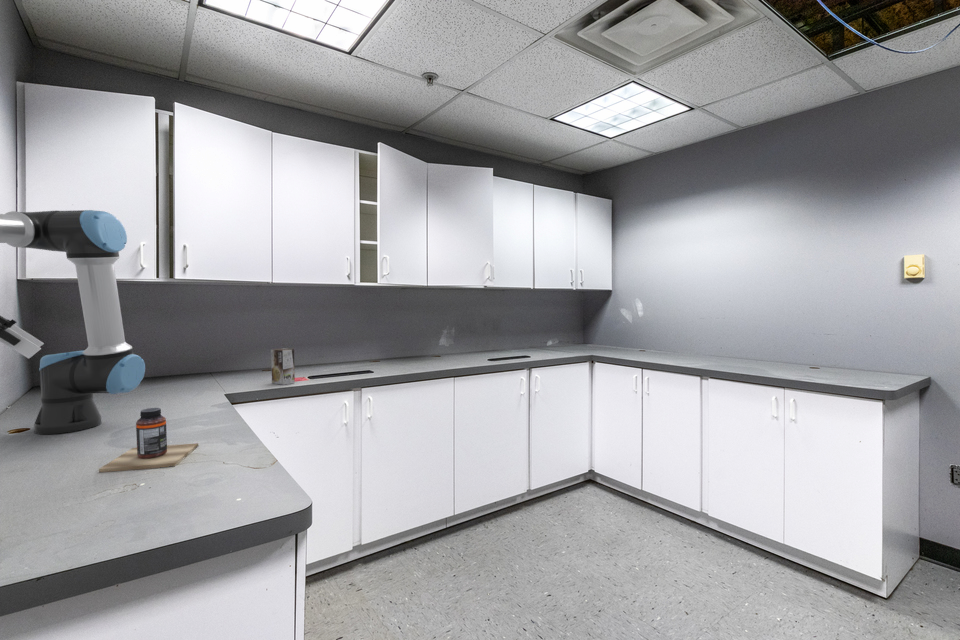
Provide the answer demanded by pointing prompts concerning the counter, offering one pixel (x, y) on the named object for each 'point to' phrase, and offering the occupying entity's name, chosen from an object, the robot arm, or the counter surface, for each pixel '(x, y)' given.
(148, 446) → the supplement bottle
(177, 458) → the oak pad
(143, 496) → the counter surface
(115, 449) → the counter surface
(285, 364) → the coffee box
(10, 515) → the counter surface
